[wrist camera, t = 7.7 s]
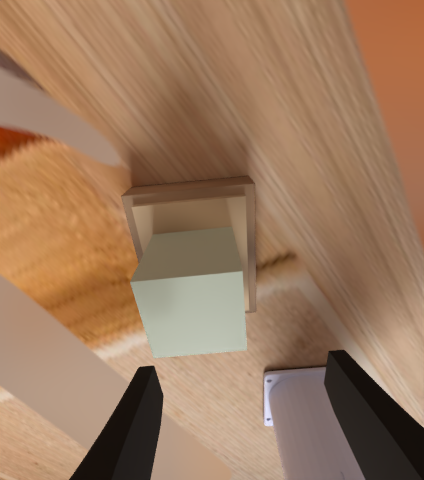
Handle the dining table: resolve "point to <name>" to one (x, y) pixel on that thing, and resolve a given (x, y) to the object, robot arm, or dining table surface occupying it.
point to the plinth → (198, 217)
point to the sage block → (191, 293)
